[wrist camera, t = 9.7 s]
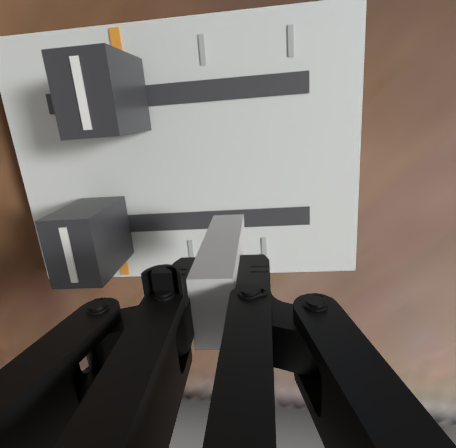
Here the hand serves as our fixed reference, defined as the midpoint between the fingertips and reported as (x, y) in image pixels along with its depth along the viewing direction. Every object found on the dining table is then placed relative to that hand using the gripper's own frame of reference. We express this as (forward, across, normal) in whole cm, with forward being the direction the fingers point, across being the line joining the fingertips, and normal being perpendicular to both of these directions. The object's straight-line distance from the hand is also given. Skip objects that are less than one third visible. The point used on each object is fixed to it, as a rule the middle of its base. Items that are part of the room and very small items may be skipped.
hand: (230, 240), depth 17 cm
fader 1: (+6, -6, +7) cm, 11 cm away
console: (+8, -3, +3) cm, 9 cm away
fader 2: (+6, -9, -1) cm, 10 cm away
